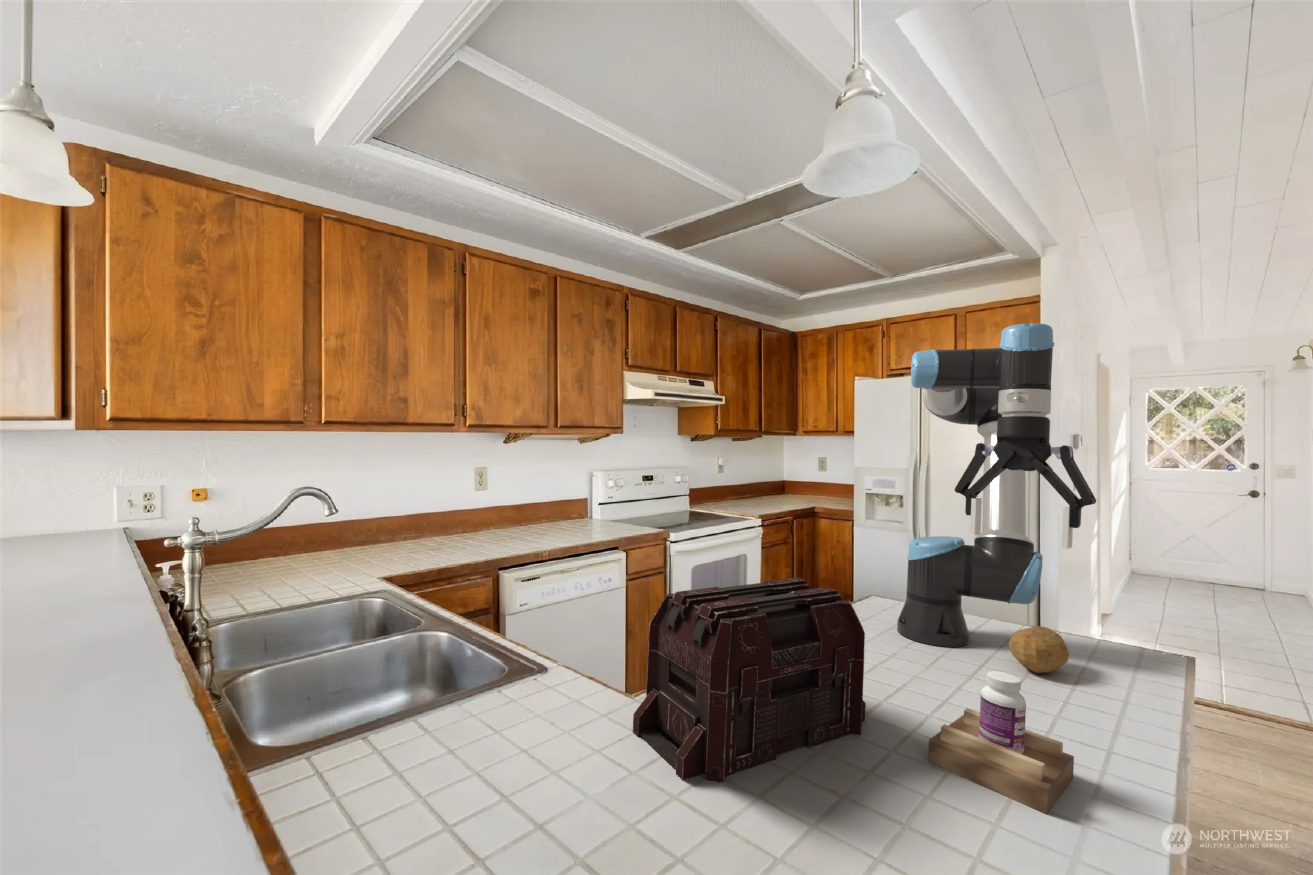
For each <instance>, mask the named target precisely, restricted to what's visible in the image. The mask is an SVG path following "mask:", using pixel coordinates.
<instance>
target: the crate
mask: <svg viewBox="0 0 1313 875" xmlns="http://www.w3.org/2000/svg"><path fill="white" fill-rule="evenodd" d="M648 626H649V627H648V642H647V643H648V645H647V666H646V667H647V670H646V688H645V689H646V692H645V693H646V696H645V698H644V699H643V700H642V702H641V704H639V705H638V707H637V708H636V709H635V711H634V713H633V715H632V716H633V718H632V719H633V720H632V733H633V734H634V735H635V736H636V737H638V738H641V739H642V740H643V739H644V740H643V741H644V742H645V743H646V742H647V743H646V744H647V745H648V746H649V747H650V748H651V749H652V750H654V751H655V753H656V754H658V755H659V757H661V758H662V759H663V761H665V762H666V763H667V764H668V765H669V766H672V767H671V768H672V769H673V770H674V771H675V770H676V771H675V775H676V776H677V775H678V776H677V777H678V778H679V777H680V778H681V779H680V778H679V779H680V780H681V781H685V780H688V779H691V778H690V777H692V778H694V777H698V776H701V775H705V780H706V781H711V782H715V781H717V783H720V782H722V784H723V783H725V779H726V778H727V777H728V776H729V777H730V776H731V775H735V774H737V773H741V772H744V771H746V770H749V769H752V768H756V767H758V766H761V765H763V764H764V765H765V764H767V763H770V762H773V761H775V760H777V756H779V755H782V754H785V753H788V752H792V751H794V750H798V749H801V748H804V747H806V748H808V749H812V748H814V747H817V746H821V745H823V744H825V743H829V742H831V741H832V742H833V741H834V740H838V739H841V738H843V737H846V736H849V735H856V736H862V725H863V724H862V722H865V721H866V707H867V706H866V705H867V704H866V702H865V701H864V699H863V698H864V677H865V676H864V673H865V642H866V641H865V639H866V637H865V636H866V632H865V631H864V627H863V624H862V623H861V621H860V619H859V617H858V614H857V613H856V611H855V609H854V607H853V605H852V603H851V601H850V600H845V598H843V597H842V596H841V594H839V591H838V590H837V589H835V588H831V587H828V586H822V587H816V588H811V587H810V585H809V584H808V583H807V580H805V579H803V578H800V577H797V576H796V577H788V578H780V579H771V580H764V581H763V580H762V581H761V582H759V583H758V582H757V583H750V584H743V585H733V586H724V587H719V586H714V587H712V586H711V587H705V588H704V587H703V588H696V589H688V590H680V591H675V592H674V593H671V592H670V593H667V594H666V595H665V597H664V599H663V600H662V601H661V603H660V605H659V606H658V608H657V610H656V612H655V613H654V615H653V617H652V618H651V620H650V622H649V625H648ZM666 738H667V739H666ZM670 742H671V743H672V742H673V743H674V744H673V743H672V744H671V743H670ZM677 746H678V747H677ZM687 778H688V779H687ZM684 779H685V780H684Z"/></svg>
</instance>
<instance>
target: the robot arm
mask: <svg viewBox="0 0 1313 875" xmlns="http://www.w3.org/2000/svg"><path fill="white" fill-rule="evenodd" d="M1054 347H1055V342H1054V329H1053V327H1051V325H1048V324H1046V323H1038V322H1037V323H1035V322H1032V323H1029V322H1028V323H1019V324H1014V325H1009V326H1006V327H1004V329H1002V331H1001V334H1000V343H999V347H989V348H988V347H987V348H965V349H962V348H961V349H960V348H959V349H934V348H933V349H929V350H928V349H927V350H920V351H919V350H918V351H915V352H914V353H913V354H912V358H911V366H910V370H911V371H910V379H911V380H910V381H911V386H912V387H913V388H915V389H925V390H924V392H923V403H924V405H925V408H926V409H927V410H928V411H929V413H931V414H932V415H934V416H935V417H937V418H938V419H941V420H944V421H946V422H949V423H953V424H959V425H968V426H969V425H970V426H971V425H972V426H973V425H974V426H976V428H977V430H976V431H977V433H978V434H979V435H980V436H982V437H983V439H984V440H983V441H984V442H979V443H977V444H976V445H975V451H974V455H973V457H972V459H971V460H970V462H969V464H968V465H967V467H966V469H965V471H963V474H962V476H961V477H960V479H959V481H958V482H957V484H956V486H955V488H954V492H955V493H957V494H960V495H962V496H964V497H965V510H964V512H965V516H970V525H969V526H970V528H969V529H970V530H969V535H970V536H975V537H974V541H973V544H974V545H972V544H971V545H969V544H965V543H966V542H965V541H964V538H962V537H959V536H949V535H948V536H947V535H946V536H945V535H935V536H934V535H932V536H923V537H916V538H914V539H912V540H911V541H910V542H909V546H908V554H907V558H906V560H908V561H907V578H906V598H905V601H904V604H903V607H902V609H901V612H900V614H899V616H898V619H897V623H896V624H897V625H896V626H897V627H896V630H897V632H898V633H899V634H900V635H901V636H903V637H904V638H907V639H909V640H912V641H915V642H918V643H922V644H927V645H932V646H937V647H938V646H939V647H945V648H946V647H948V648H950V647H951V648H952V647H953V648H956V647H957V648H958V647H964V646H966V644H967V643H968V644H969V639H970V638H969V637H970V636H969V635H970V634H969V629H968V626H967V622H966V619H965V615H964V612H963V609H962V597H969V598H975V599H977V598H978V599H983V600H989V601H995V602H997V601H998V602H1004V603H1007V604H1010V605H1011V604H1017V605H1018V604H1019V605H1030V604H1032V603H1033V602H1034V601H1035V600H1036V598H1037V595H1038V591H1039V588H1040V583H1041V577H1042V570H1043V556H1044V555H1043V554H1042V553H1040V552H1038V551H1034V550H1035V544H1034V542H1033V541H1032V540H1031V539H1030V538H1029V537H1028V536H1027V533H1026V532H1027V527H1026V526H1027V509H1026V508H1027V503H1026V502H1027V501H1026V500H1027V490H1026V488H1027V486H1026V485H1027V482H1026V481H1027V480H1026V479H1027V476H1026V474H1027V473H1026V472H1035V471H1036V472H1038V474H1039V475H1042V477H1043V478H1044V479H1045V480H1046V481H1047V482H1048V484H1050V485H1051V487H1052V488H1053V489H1054V490H1055V491H1056V492H1057V493H1058V495H1060V497H1061V498H1062V499H1063V500H1064V501H1065V502H1066V503H1067V504H1068V506H1063V510H1062V533H1061V534H1062V535H1061V536H1062V537H1061V539H1062V540H1061V549H1066V550H1068V549H1071V548H1073V536H1074V535H1073V529H1079V528H1080V527H1081V524H1082V509H1083V508H1084V507H1086V506H1091V505H1095V504H1096V503H1097V498H1096V497H1095V495H1094V493H1093V492H1092V490H1091V487H1090V485H1089V484H1088V482H1087V481H1086V479H1085V477H1084V475H1083V474H1082V471H1081V470H1080V468H1079V466H1078V464H1077V462H1076V460H1075V457H1074V449H1073V447H1072V446H1070V445H1061V446H1053V447H1052V446H1051V442H1050V438H1051V437H1050V434H1051V433H1050V432H1051V431H1050V430H1051V419H1050V418H1049V417H1047V415H1050V414H1051V413H1052V412H1051V410H1052V408H1051V407H1052V406H1051V405H1052V372H1053V354H1054V353H1053V352H1054ZM1053 454H1054V455H1055V458H1057V460H1061V464H1062V466H1063V468H1064V469H1065V471H1066V473H1067V474H1068V477H1069V478H1070V480H1071V481H1072V485H1073V486H1074V487H1075V489H1076V492H1077V493H1078V495H1079V497H1080V498H1079V497H1078V496H1077V495H1076V494H1075V493H1074V492H1073V490H1071V488H1070V487H1069V486H1068V485H1067V484H1066V483H1065V482H1064V480H1063V479H1062V478H1060V477H1059V475H1058V474H1057V473H1056V472H1055V471H1054V470H1053V468H1052V467H1051V466H1050V465H1049V463H1047V460H1048V459H1049V458H1050V457H1051V456H1052V455H1053ZM982 466H983V470H982V471H983V475H982V476H980V478H979V479H977V480H976V482H974V483H973V481H974V479H976V476H977V474H978V473H979V471H980V469H981V468H982ZM972 483H973V484H972ZM971 484H972V485H971ZM970 486H971V487H970ZM981 492H982V497H981V498H980V497H978V496H979V495H980V494H981ZM968 644H967V645H968Z"/></svg>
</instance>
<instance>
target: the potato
mask: <svg viewBox="0 0 1313 875" xmlns="http://www.w3.org/2000/svg"><path fill="white" fill-rule="evenodd" d="M1008 641H1009V642H1008V647H1009V648H1010V652H1011V655H1012V656H1013V657H1014V658H1015V659H1016V660H1017V661H1018V662H1019V663H1020V664H1021V666H1022V667H1024V668H1026V669H1027V670H1029V671H1031V672H1032V673H1035V674H1039V673H1051V672H1054V671H1056V670H1058V669H1059V668H1060V667H1062V666H1064V665H1065V664H1066V663H1068V662H1069V661H1068V660H1069V657H1070V652H1069V649H1068V647H1067V644H1066V643H1065V641H1064V639H1063V637H1062V636H1061V635H1060V634H1059V633H1057V632H1056V631H1054V630H1052V629H1051V628H1048V627H1045V626H1040V625H1035V626H1032V627H1028V628H1023V629H1019V630H1017V631H1015V632H1014V633H1013V634H1012V636H1010V638H1009V640H1008Z"/></svg>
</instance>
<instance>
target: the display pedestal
mask: <svg viewBox="0 0 1313 875" xmlns="http://www.w3.org/2000/svg"><path fill="white" fill-rule="evenodd" d="M979 727H980V711H976V710H973V709H970V708H966V709H963V714H962V715H961V716H960V717H958V718H957V719H955V720H953V722H951V723H949V725H947V724H943V725H942V726H940V731H939V732H938V733H935V735H933V736H932V737H931V738H929V740H928V757H927V758H928V759H927V760H928V761H927V762H929V763H931V764H933V765H936V766H937V767H940V768H943V769H944V770H947V771H949V772H951V773H954V774H956V775H958V776H960V777H962V778H965V779H967V780H969V781H971V782H974V783H976V784H978V785H980V786H983V787H985V788H986V789H989V790H991V791H994V792H996V793H998V794H1000V795H1002V796H1005V797H1007V798H1010V799H1012V800H1014V801H1017V802H1018V803H1021V804H1023V805H1025V806H1027V807H1029V808H1031V809H1034V810H1036V811H1039V812H1040V813H1043V814H1045V815H1048V813H1049V812H1050V810H1051V809H1052V808H1053V807H1054V805H1055V804H1057V801H1058V799H1060V797H1061V795H1062V794H1063V793H1064V791H1065V790H1066V789H1067V788H1068V786H1069V785H1070V784H1071V782H1072V781H1073V779H1074V770H1075V769H1074V767H1075V756H1074V755H1072V754H1069V753H1066V752H1064V748H1063V747H1064V742H1062V741H1060V740H1057V739H1054V738H1051V737H1049V736H1046V735H1042V734H1040V733H1037V732H1035V731H1032V730H1029V729H1026V728H1025V743H1024V752H1023V753H1022V754H1019V753H1017V752H1014V751H1011V750H1009V749H1006V748H1004V747H1001V746H999V745H996V744H994V743H991V742H988V741H986V740H983V739H981V738H979Z"/></svg>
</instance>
